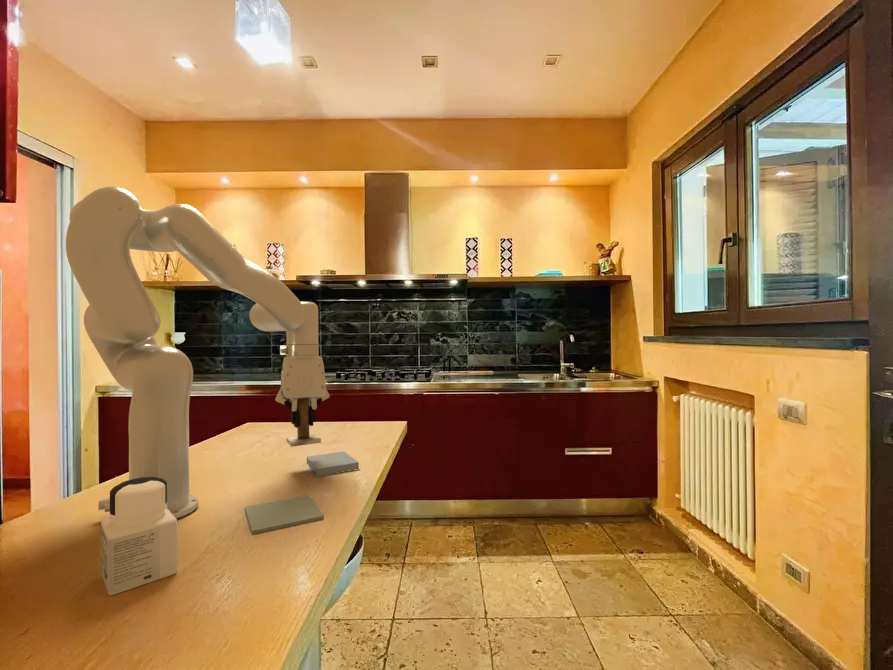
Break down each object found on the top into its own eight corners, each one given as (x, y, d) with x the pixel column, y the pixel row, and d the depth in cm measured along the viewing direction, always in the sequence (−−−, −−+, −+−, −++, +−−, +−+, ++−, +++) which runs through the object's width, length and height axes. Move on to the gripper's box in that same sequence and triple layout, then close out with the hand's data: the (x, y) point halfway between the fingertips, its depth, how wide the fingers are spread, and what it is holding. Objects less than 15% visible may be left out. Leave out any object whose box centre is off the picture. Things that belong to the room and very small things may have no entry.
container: (100, 574, 60) (100, 481, 60) (165, 554, 66) (165, 469, 66) (108, 597, 55) (108, 495, 55) (178, 573, 60) (177, 481, 60)
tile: (318, 468, 102) (358, 462, 108) (306, 456, 113) (344, 451, 118) (318, 478, 102) (358, 471, 108) (306, 465, 113) (344, 459, 118)
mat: (251, 534, 72) (251, 530, 72) (244, 509, 83) (244, 506, 83) (323, 518, 78) (323, 515, 78) (308, 497, 89) (308, 494, 89)
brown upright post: (291, 446, 102) (290, 396, 102) (286, 441, 108) (286, 393, 108) (320, 442, 106) (320, 394, 106) (314, 437, 111) (314, 391, 111)
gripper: (270, 353, 99) (270, 432, 99) (339, 351, 108) (340, 424, 108) (265, 352, 106) (266, 426, 106) (331, 350, 114) (331, 419, 114)
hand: (303, 425), depth 107 cm, fingers closed on brown upright post, 2 cm apart
